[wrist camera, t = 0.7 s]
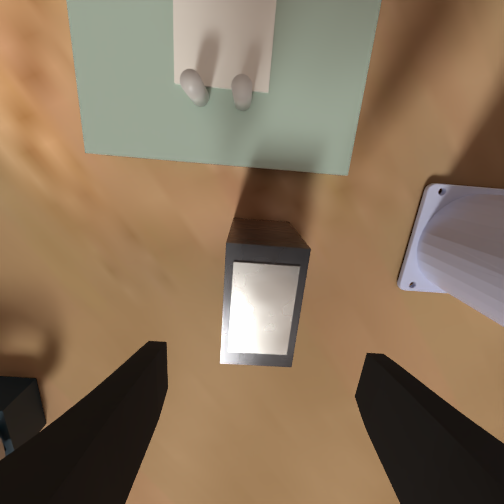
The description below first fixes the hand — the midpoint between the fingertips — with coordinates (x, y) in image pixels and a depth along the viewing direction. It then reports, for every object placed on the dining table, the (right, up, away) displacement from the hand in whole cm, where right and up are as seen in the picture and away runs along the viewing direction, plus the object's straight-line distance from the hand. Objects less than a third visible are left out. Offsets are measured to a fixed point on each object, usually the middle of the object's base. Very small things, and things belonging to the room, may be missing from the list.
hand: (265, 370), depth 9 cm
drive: (0, +3, +10) cm, 11 cm away
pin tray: (-2, +18, +5) cm, 18 cm away
